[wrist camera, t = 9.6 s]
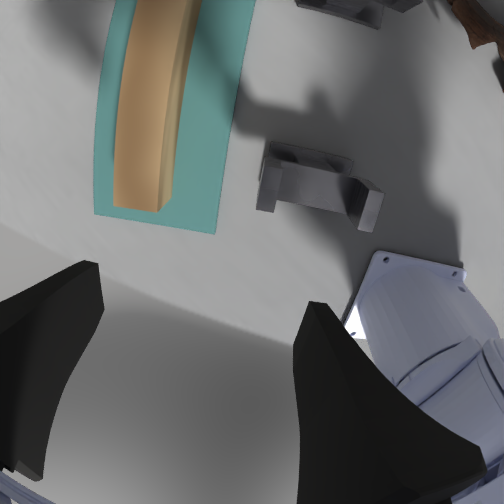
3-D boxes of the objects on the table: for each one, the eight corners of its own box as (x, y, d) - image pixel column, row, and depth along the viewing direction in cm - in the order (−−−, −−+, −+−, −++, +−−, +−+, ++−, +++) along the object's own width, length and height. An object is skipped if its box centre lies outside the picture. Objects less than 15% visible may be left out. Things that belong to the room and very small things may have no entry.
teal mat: (272, -70, 9) (273, -73, 9) (215, 231, 20) (214, 234, 19) (142, -67, 9) (140, -70, 9) (96, 212, 19) (94, 214, 19)
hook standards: (386, -5, 11) (423, -33, 6) (343, 204, 18) (368, 242, 13) (300, -30, 11) (311, -73, 6) (257, 187, 18) (253, 219, 13)
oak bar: (218, -58, 10) (211, -79, 7) (171, 197, 18) (157, 212, 16) (176, -57, 10) (163, -75, 7) (132, 191, 18) (113, 206, 16)
